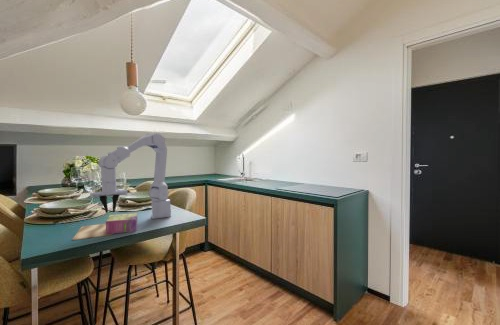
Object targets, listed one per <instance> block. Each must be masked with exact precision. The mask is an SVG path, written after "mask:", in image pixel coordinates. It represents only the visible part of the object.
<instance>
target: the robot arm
mask: <svg viewBox="0 0 500 325" xmlns="http://www.w3.org/2000/svg"><path fill="white" fill-rule="evenodd" d="M144 146H147V147H149V148H151V149H152V150H154V152H155V162H154V163H155V164H154V172H153V174H154V176H153V182H152V183H151V184H150V187H149V190H148V196H149V197H150V200H151V215H150V216H151V219H152V220H153V219H154V220H155V219H164V218H171V217H172V208H171V199H169V195H170V194H169V189H168V187H169V186H168V184H167V183H166V182H165V181H166V169H167V157H168V149H167V145H166V138H165V136H163V134H161V133H159V132H158V133H157V132H156V133H147V134H145V135H142V136H141V137H139V138H138V139H136V140H135V141H133V142H131V143H130V144H128V145H127V146H125V145H124V146H117V147H116V149H115V150H113V151H112V152H111V151H110V152H108V153H107V155H102V156H101V157H99V160H98V161H97V165H98V166H99V168H100V178H101V191H97V192H91V193H90V194H89V197H90V199H94V198H99V201H100V202H101V204H102V206H103V209H104V211H105V213H106V214H107V213H108V212H109V206H108V197H112V198H111V200H112V213H115V212H116V207H117V202H118V200H119V197H120V196H128V190H127V189H126V190H125V189H124V190H123V189H122V190H117V189H118V188H117V174H116V171H117V170H116V168H117V167H118V164H120V163H121V162H124V161H125V160H126V159H127V158H129V157H130V156H131V153H133V152H134V151H136V150H138V149H139V148H142V147H144Z"/></svg>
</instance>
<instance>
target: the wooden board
mask: <svg viewBox="0 0 500 325" xmlns="http://www.w3.org/2000/svg"><path fill="white" fill-rule="evenodd" d="M112 235H113V233H111V234H106V223H100V224H98V223H97V224H91V225H83V226H81V227H80V228H79V229H78V231H77V232H76V234H75V235H74V236H73V237H72V239H71V240H72V241H77V240H78V241H79V240H85V239H93V238H99V237H107V236H112Z"/></svg>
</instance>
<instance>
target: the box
mask: <svg viewBox="0 0 500 325" xmlns="http://www.w3.org/2000/svg"><path fill="white" fill-rule="evenodd" d="M105 224H106V234H111V233H112V234H120V233H133V232H134V231H135V232H137V229H138V228H137V227H138V213H137V212H135V213H121V214H120V213H119V214H109V216H108V217H107V219H106V221H105Z"/></svg>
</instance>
